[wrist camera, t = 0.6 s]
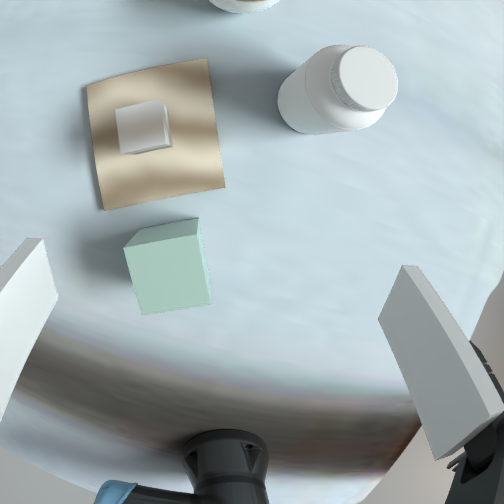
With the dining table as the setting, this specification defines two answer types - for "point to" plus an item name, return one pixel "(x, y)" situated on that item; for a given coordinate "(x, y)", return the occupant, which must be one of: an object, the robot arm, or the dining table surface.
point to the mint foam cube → (169, 267)
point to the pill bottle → (338, 90)
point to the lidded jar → (244, 5)
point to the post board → (165, 163)
